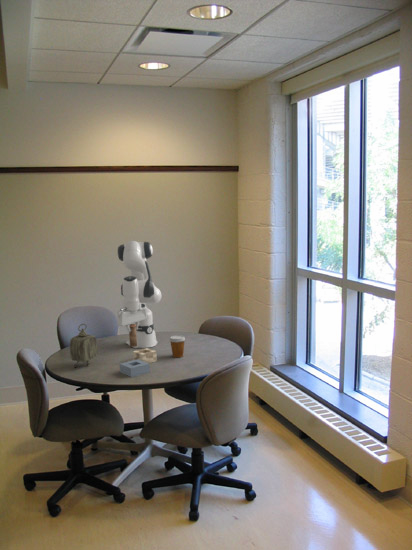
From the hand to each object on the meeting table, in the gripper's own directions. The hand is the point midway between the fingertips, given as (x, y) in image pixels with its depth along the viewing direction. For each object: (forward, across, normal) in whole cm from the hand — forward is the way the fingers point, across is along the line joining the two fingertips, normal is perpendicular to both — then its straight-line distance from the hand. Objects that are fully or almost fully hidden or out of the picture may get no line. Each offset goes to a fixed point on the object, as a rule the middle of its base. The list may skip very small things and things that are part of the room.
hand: (132, 330), depth 312 cm
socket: (+24, 0, 0) cm, 24 cm away
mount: (+24, +19, +10) cm, 32 cm away
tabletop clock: (+24, -5, +34) cm, 42 cm away
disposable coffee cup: (+24, +37, -1) cm, 44 cm away
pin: (+9, 0, 0) cm, 9 cm away
